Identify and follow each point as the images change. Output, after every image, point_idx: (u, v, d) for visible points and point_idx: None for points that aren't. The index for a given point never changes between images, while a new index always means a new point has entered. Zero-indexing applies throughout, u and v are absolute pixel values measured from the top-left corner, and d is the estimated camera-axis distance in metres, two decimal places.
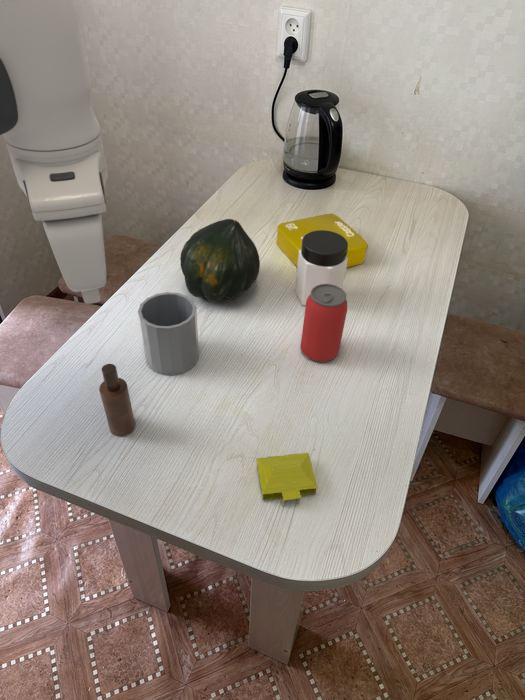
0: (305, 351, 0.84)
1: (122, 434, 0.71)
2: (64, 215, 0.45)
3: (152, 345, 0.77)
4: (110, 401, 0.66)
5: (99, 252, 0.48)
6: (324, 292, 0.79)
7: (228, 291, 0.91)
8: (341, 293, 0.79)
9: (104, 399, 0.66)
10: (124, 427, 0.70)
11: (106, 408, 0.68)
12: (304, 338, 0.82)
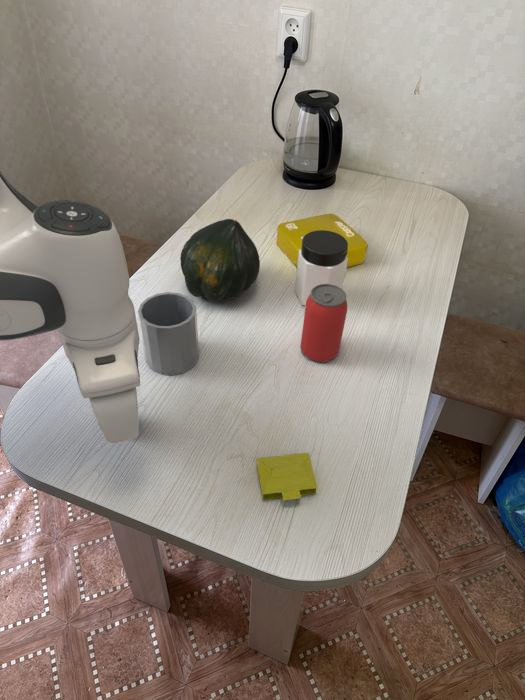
0: (305, 351, 0.84)
1: None
2: (107, 393, 0.55)
3: (152, 345, 0.77)
4: None
5: (134, 416, 0.58)
6: (324, 292, 0.79)
7: (228, 291, 0.91)
8: (341, 293, 0.79)
9: None
10: None
11: None
12: (304, 338, 0.82)
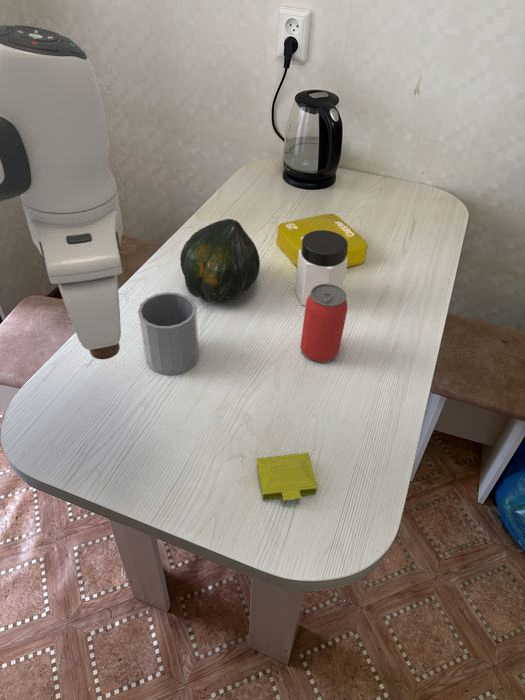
0: (305, 351, 0.84)
1: (104, 356, 0.61)
2: (80, 278, 0.45)
3: (152, 345, 0.77)
4: None
5: (114, 312, 0.47)
6: (324, 292, 0.79)
7: (228, 291, 0.91)
8: (341, 293, 0.79)
9: None
10: (106, 347, 0.60)
11: None
12: (304, 338, 0.82)
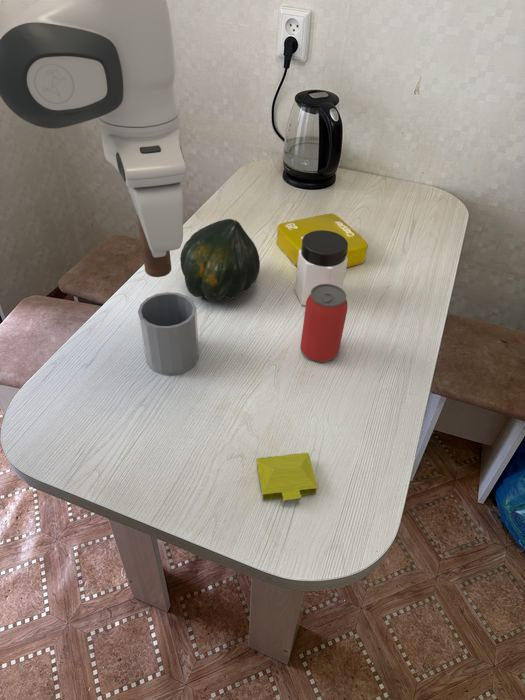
0: (305, 351, 0.84)
1: (159, 274, 0.69)
2: (153, 183, 0.52)
3: (152, 345, 0.77)
4: None
5: (179, 216, 0.55)
6: (324, 292, 0.79)
7: (228, 291, 0.91)
8: (341, 293, 0.79)
9: None
10: (161, 264, 0.68)
11: (144, 239, 0.65)
12: (304, 338, 0.82)
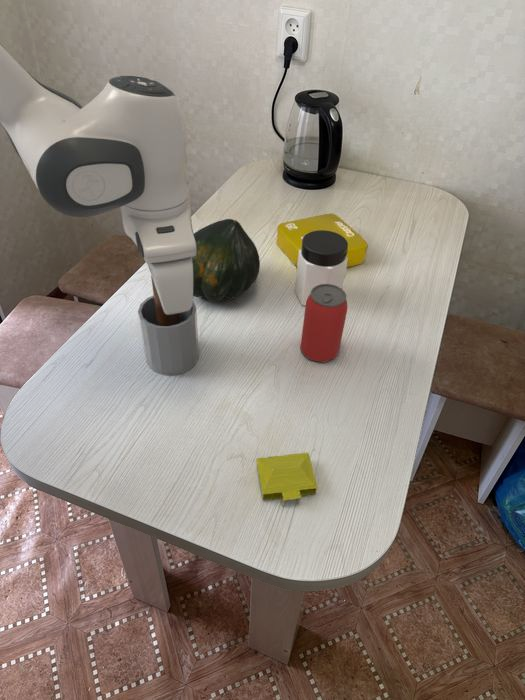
0: (305, 351, 0.84)
1: (169, 325, 0.77)
2: (167, 259, 0.61)
3: (152, 345, 0.77)
4: None
5: (190, 285, 0.63)
6: (324, 292, 0.79)
7: (228, 291, 0.91)
8: (341, 293, 0.79)
9: None
10: (171, 317, 0.76)
11: (157, 296, 0.73)
12: (304, 338, 0.82)
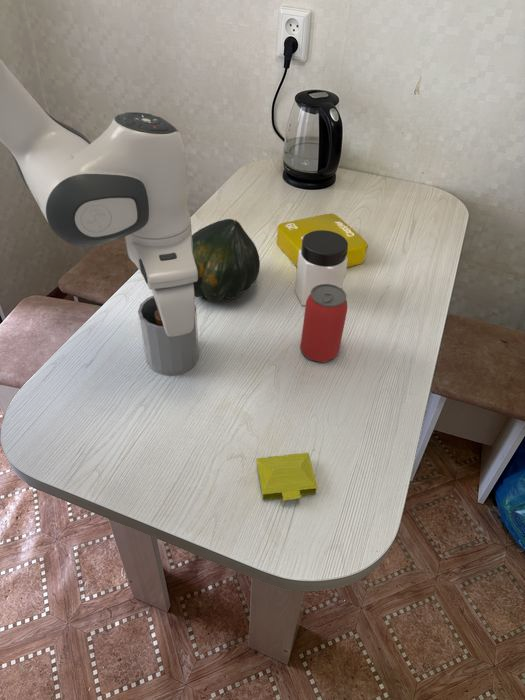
0: (305, 351, 0.84)
1: None
2: (170, 285, 0.63)
3: (152, 345, 0.77)
4: None
5: (191, 309, 0.66)
6: (324, 292, 0.79)
7: (228, 291, 0.91)
8: (341, 293, 0.79)
9: (159, 323, 0.76)
10: None
11: None
12: (304, 338, 0.82)
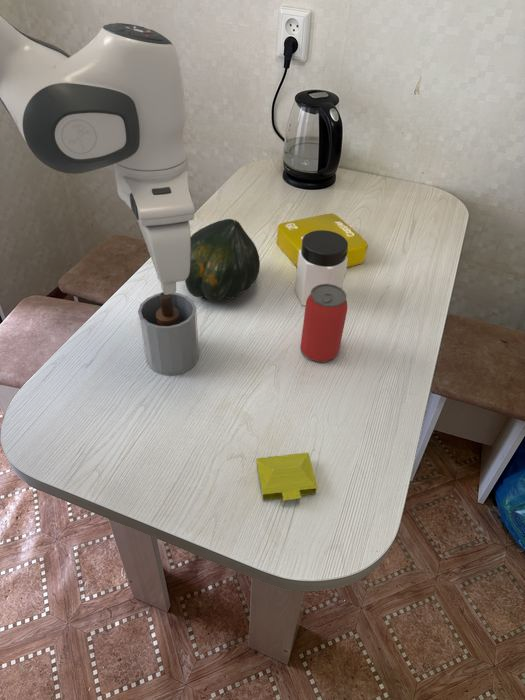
0: (305, 351, 0.84)
1: None
2: (163, 222, 0.57)
3: (152, 345, 0.77)
4: (166, 325, 0.76)
5: (187, 251, 0.60)
6: (324, 292, 0.79)
7: (228, 291, 0.91)
8: (341, 293, 0.79)
9: (160, 323, 0.76)
10: None
11: None
12: (304, 338, 0.82)
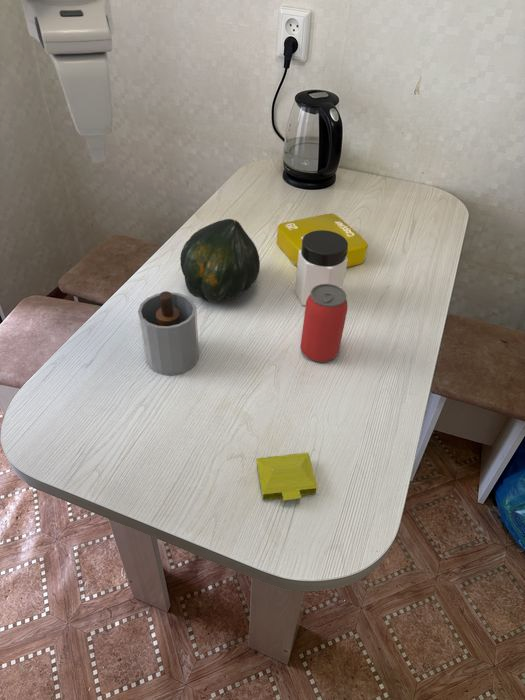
0: (305, 351, 0.84)
1: None
2: (73, 48, 0.48)
3: (152, 345, 0.77)
4: (166, 325, 0.76)
5: (105, 91, 0.51)
6: (324, 292, 0.79)
7: (228, 291, 0.91)
8: (341, 293, 0.79)
9: (160, 323, 0.76)
10: None
11: None
12: (304, 338, 0.82)
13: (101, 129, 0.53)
